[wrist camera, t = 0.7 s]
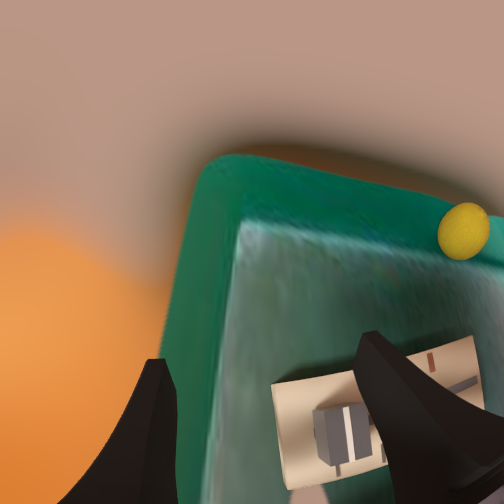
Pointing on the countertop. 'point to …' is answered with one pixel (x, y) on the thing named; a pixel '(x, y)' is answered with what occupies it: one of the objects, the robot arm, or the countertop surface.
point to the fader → (342, 433)
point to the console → (346, 390)
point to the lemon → (463, 231)
